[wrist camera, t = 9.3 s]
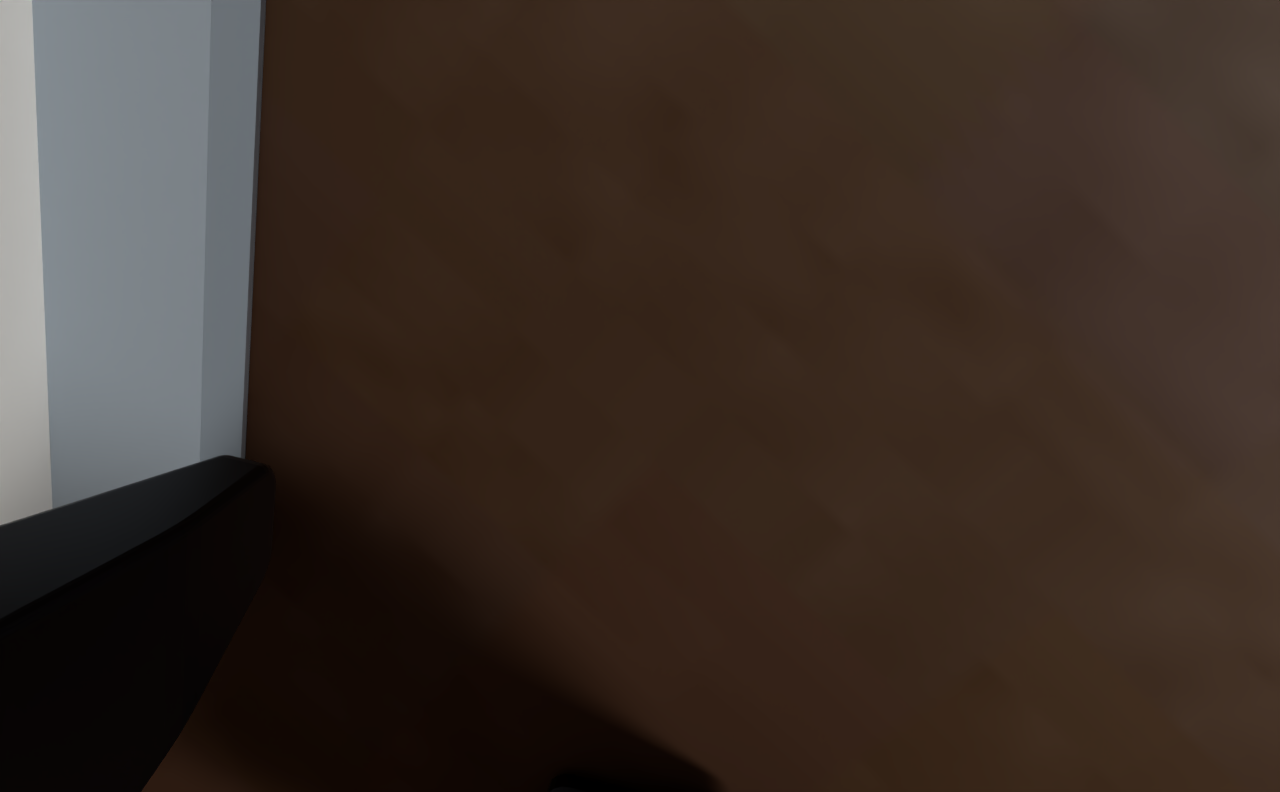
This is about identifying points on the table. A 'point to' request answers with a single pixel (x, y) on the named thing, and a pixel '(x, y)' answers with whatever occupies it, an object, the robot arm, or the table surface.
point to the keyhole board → (146, 231)
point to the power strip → (21, 279)
